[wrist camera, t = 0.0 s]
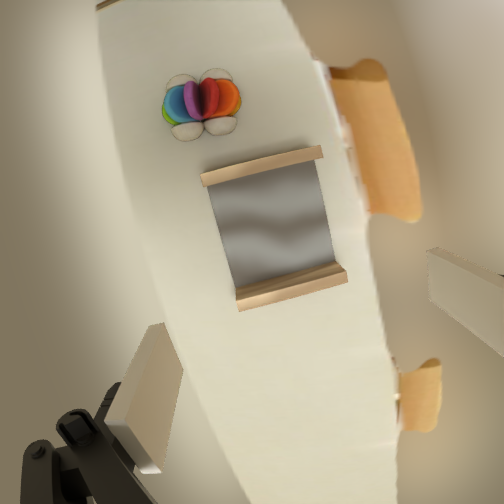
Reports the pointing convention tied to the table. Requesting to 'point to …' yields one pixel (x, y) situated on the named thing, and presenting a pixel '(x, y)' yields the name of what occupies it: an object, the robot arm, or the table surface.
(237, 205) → the bay
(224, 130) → the rainbow petal toy
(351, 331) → the table surface
